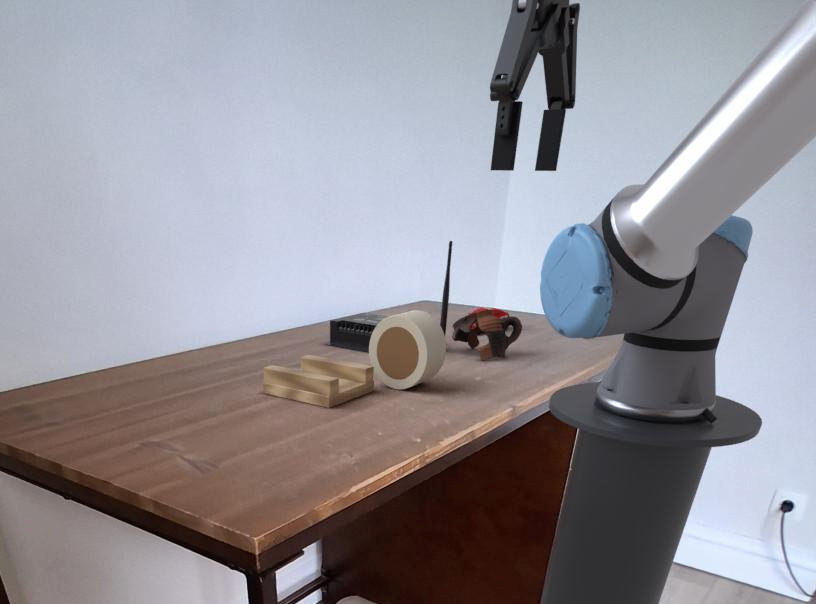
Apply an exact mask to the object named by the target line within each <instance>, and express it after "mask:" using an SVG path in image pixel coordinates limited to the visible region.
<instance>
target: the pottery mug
mask: <svg viewBox="0 0 816 604" xmlns="http://www.w3.org/2000/svg"><path fill="white" fill-rule="evenodd" d="M471 313H472V312H471ZM474 323H475V324H476V327H475V328H473V329H471V328H472V326H473V324H474ZM510 326H512V332H511V334H510V335H507V334H506V332H507V329H508V328H509V327H510ZM452 328H453V333H452V336H451V339H452V340H453V341H454V342H462V343H467V344H468V346H469V348H470V349H471V350H473V349H475V348H477V347H478V349H477V350H478V353H479V358H480V361H486V360H489V359H493V358H505V357H506V351H507V349H508V348H509V346H511V344H513V343H515V342H517V341H518V339H519V337H520V336H521V334H522V331H523V325H522V323H521V320H520V319H519V317H517V316H511V315H509V317H507V318H504V319H498V318H497V317H495V316H494V313H493V310H492V309H487V310H482V311H478V312H476V313H472V314H469V315H468V314H467V315H464V316H463V317H461V318H459V319H458V320H456V321H455V322H454V323H453V324H452ZM479 331H483V332H482V333H486V336H487V339H488V343H486V344H483V345H482V346H479V345H480V340H479V338H478V335H477V333H478V332H479Z"/></svg>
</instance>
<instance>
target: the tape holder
mask: <svg viewBox="0 0 816 604" xmlns="http://www.w3.org/2000/svg"><path fill="white" fill-rule="evenodd" d="M374 374H375V372H374V366H371V365H368V364H363V363H358V362H352V361H346V360H340V359H336V358H330V357H325V356H324V357H323V356H318V355H313V354H307V355H302V356H301V357H300V369H294V368H289V367H284V366H279V365H274V364H272V365H268V366H265V367H263V382H262V387H263V388H262V391H263V392H262V393H263V394H265V395H270V396H275V397H278V398H283V399H288V400H292V401H296V402H301V403H306V404H310V405H315V406H318V407H323V408H327V409H330V408H332V407H336V406H337V405H338V406H339V405H340V404H343V403H346V402H349V401H351V400H353V399H356V398H358V397H362V396H364V395H366V394H369V393H372V392H374V391H375V380H374Z"/></svg>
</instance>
